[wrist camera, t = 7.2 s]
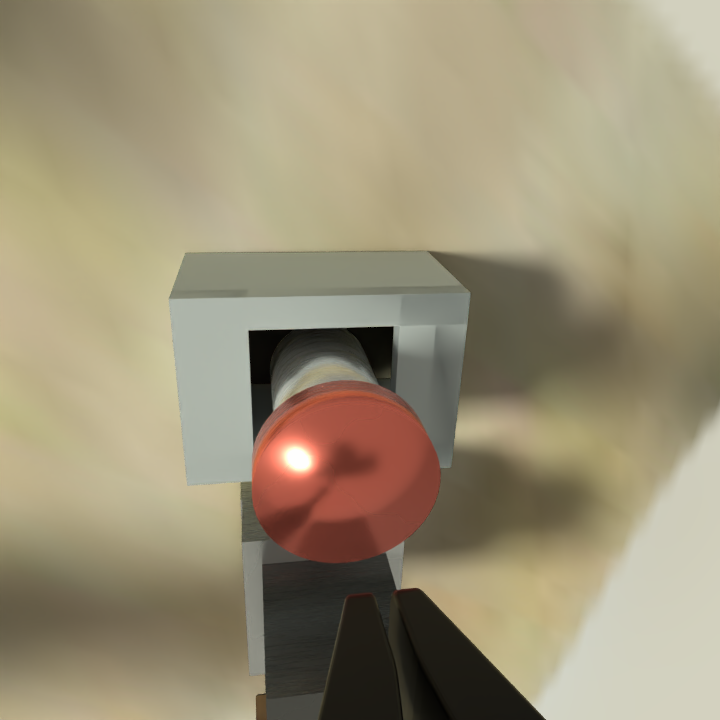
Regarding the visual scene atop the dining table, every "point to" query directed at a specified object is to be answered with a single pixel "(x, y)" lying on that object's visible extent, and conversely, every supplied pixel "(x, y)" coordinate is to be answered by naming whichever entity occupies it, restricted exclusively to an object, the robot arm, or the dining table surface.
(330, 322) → the button housing
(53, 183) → the dining table surface
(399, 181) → the dining table surface
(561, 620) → the dining table surface
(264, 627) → the carriage
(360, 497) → the red plunger button
